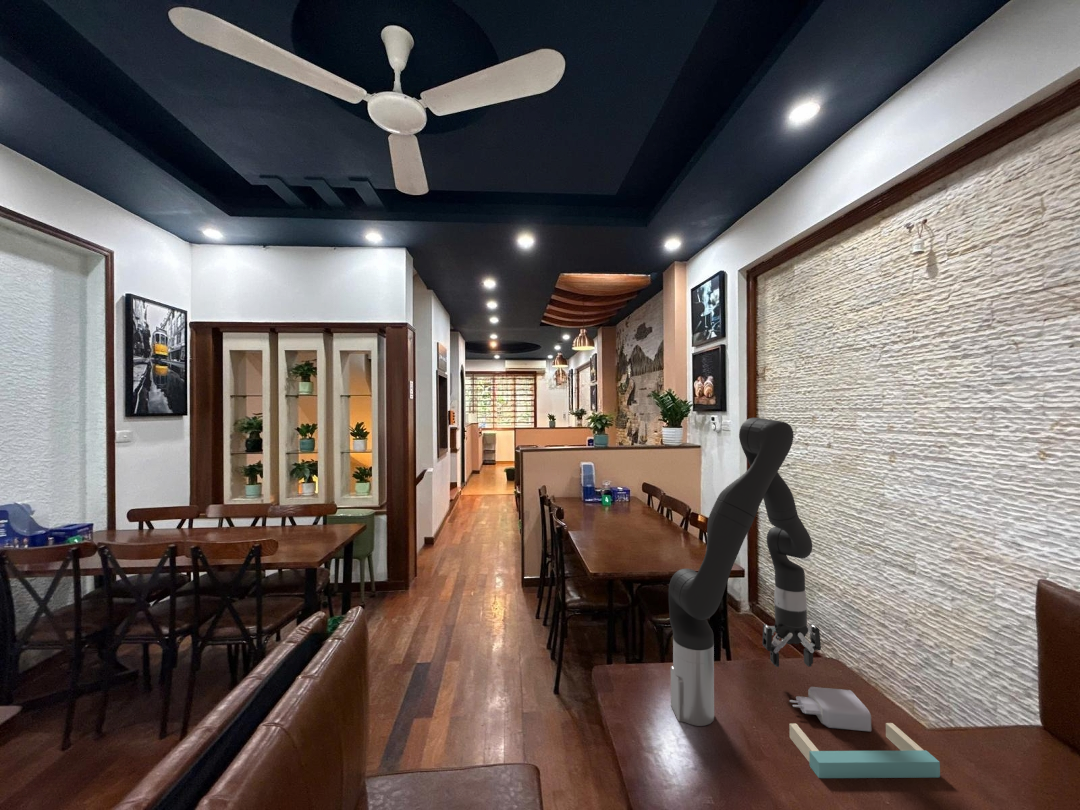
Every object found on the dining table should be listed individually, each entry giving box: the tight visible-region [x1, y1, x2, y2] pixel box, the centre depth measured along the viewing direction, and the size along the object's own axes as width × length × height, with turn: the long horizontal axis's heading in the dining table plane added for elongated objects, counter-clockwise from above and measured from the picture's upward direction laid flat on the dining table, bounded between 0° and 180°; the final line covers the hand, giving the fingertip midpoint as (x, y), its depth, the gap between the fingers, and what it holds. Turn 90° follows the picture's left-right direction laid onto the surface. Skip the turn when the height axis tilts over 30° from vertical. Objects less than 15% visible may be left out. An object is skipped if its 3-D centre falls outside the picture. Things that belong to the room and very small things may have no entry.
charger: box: [789, 686, 872, 733], centre depth 105 cm, size 5×9×15 cm
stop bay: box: [788, 722, 941, 779], centre depth 93 cm, size 24×11×3 cm, turn 90°
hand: (791, 665), depth 118 cm, fingers open, 8 cm apart
